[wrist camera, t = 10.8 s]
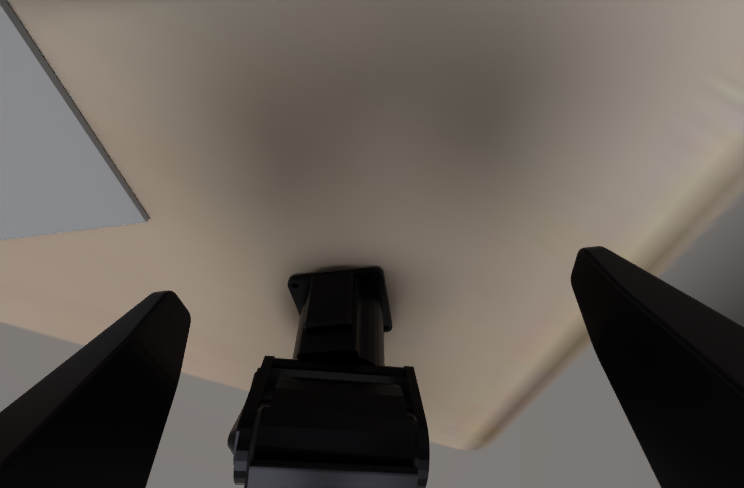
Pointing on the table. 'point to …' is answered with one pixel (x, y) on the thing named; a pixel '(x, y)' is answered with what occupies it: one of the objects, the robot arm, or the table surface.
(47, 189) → the mat
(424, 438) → the robot arm
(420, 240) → the table surface
